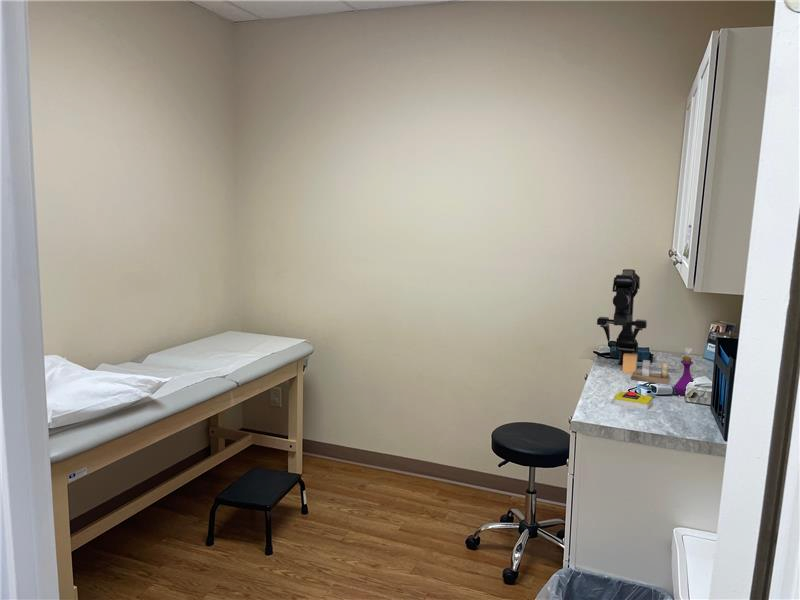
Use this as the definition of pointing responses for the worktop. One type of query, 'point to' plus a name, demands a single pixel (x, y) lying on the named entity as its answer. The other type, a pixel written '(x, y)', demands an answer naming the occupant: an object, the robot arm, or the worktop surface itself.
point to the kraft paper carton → (629, 363)
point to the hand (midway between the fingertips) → (620, 343)
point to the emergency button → (634, 401)
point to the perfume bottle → (684, 374)
